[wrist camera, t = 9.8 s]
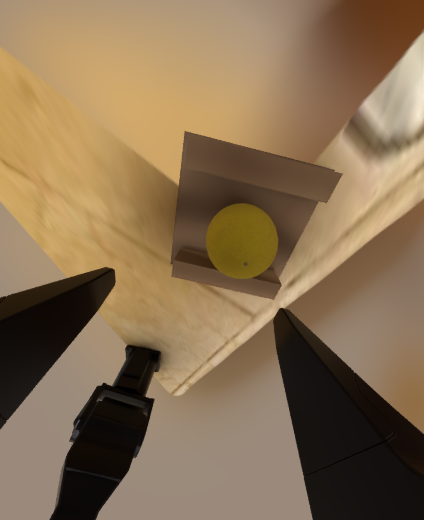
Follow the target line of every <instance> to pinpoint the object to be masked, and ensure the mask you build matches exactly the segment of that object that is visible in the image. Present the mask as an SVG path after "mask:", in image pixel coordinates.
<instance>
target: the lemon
mask: <svg viewBox="0 0 424 520" xmlns="http://www.w3.org/2000/svg"><path fill="white" fill-rule="evenodd" d="M206 248H207V251H208V255H209V258H210V260H211V261H212V263H213V265H214V266H215V267H216V268H217V269H218V270H219V271H220V272H221V273H223V274H225V275H227V276H229V277H232V278H235V279H248V278H252V277H255V276H258V275H259V274H261V273H263V272H264V271H265V270H266V269H267V268H268V267H269V266H270V265H271V263H272V262H273V260H274V258H275V256H276V253H277V249H278V236H277V232H276V227H275V225H274V223H273V222H272V220H271V218H270V217H269V216H268V215H267V214H266V213H265V212H264V211H263V210H262V209H260V208H258V207H256V206H254V205H250V204H246V203H240V204H233V205H230V206H227V207H225V208H224V209H222V210H221V211H219V212H218V213H217V214H216V215H215V217H214V218H213V219H212V221H211V223H210V225H209V227H208V230H207V234H206Z"/></svg>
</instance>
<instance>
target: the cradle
mask: <svg viewBox="0 0 424 520" xmlns="http://www.w3.org/2000/svg"><path fill="white" fill-rule="evenodd" d="M334 171H335V170H333V169H329V168H325V167H321V166H317V165H314V164H310V163H306V162H302V161H298V160H294V159H290V158H287V157H283V156H279V155H275V154H271V153H267V152H263V151H259V150H256V149H251V148H248V147H244V146H240V145H236V144H232V143H229V142H225V141H221V140H217V139H213V138H209V137H205V136H202V135H198V134H193V133H190V132H186V131H185V134H184V143H183V153H182V163H181V172H180V181H179V190H178V200H177V209H176V218H175V228H174V237H173V246H172V256H171V264H173V269H172V277H176V278H180V279H185V280H189V281H194V282H198V283H202V284H207V285H211V286H216V287H220V288H224V289H229V290H233V291H238V292H242V293H247V294H251V295H255V296H260V297H264V298H269V299H273V300H274V298H275V296H276V295H277V293H278V291H279V289H280V287H281V286H282V285H281V282H280V280H279V276H280V274H281V272H282V271H283V269H284V267H285V265H286V263H287V261H288V259H289V257H290V255H291V253H292V251H293V250H294V248H295V246H296V244H297V242H298V240H299V238H300V236H301V234H302V232H303V230H304V228H305V227H306V225H307V223H308V221H309V219H310V217H311V215H312V213H313V211H314V209H315V207H316V205H317V204H318V202H319V201H320V202H324V203H327V202H328V200H329V198H330V196H331V194H332V193H333V191H334V189H335V187H336V185H337V184H338V182H339V180H340V178H341V176H342V174H341V173H337V172H334ZM240 203H246V204H250V205H254V206H256V207H258V208H260V209H262V210H263V211H264V212H265V213H266V214H267V215H268V216H269V217H270V218H271V220H272V222H273V223H274V225H275V227H276V232H277V236H278V249H277V253H276V256H275V258H274V260H273V262H272V263H271V265H270V266H269V267H268V268H267V269H266V270H265V271H264V272H263V273H261V274H259V275H258V276H255V277H252V278H248V279H235V278H232V277H229V276H227V275H225V274H223V273H221V272H220V271H219V270H218V269H217V268H216V267H215V266H214V265H213V263H212V261H211V260H210V258H209V255H208V251H207V248H206V234H207V230H208V227H209V225H210V223H211V221H212V219H213V218H214V217H215V215H216V214H217V213H218V212H219V211H221V210H222V209H224V208H225V207H227V206H230V205H233V204H240Z"/></svg>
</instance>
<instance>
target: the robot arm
mask: <svg viewBox="0 0 424 520" xmlns="http://www.w3.org/2000/svg"><path fill="white" fill-rule="evenodd" d="M115 282H116V280H115V270H114V269H112V268H108V267H104V268H101V269H97V270H94V271H90V272H87V273H83V274H80V275H77V276H73V277H70V278H66V279H63V280H59V281H56V282H52V283H49V284H46V285H42V286H39V287H35V288H32V289H29V290H25V291H22V292H18V293H15V294H11V295H8V296H7V297H6V296H5V297H1V298H0V429H1V428H2V427H3V425H4V424H5V423H6V420H8V419H9V418H10V417H11V415H12V414H13V413H14V412H15V411H16V409H17V408H18V407H19V406H20V405H21V403H22V402H23V401H24V400H25V398H26V397H27V396H28V395H29V394H30V392H31V391H32V390H33V388H35V386H36V385H37V384H38V382H39V381H40V380H41V379H42V378H43V376H44V375H45V374H46V373H47V372H48V371H49V369H50V368H51V367H52V365H54V363H55V362H56V361H57V360H58V358H59V357H60V356H61V355H62V354H63V352H64V351H65V350H66V349H67V348H68V346H69V345H70V344H71V343H72V341H73V340H74V339H75V338H76V337H77V335H78V334H79V333H80V332H81V330H82V329H83V328H84V327H85V326H86V324H87V323H88V322H89V321H90V320H91V318H92V317H93V316H94V315H95V313H96V312H97V311H98V310H99V308H100V307H101V305H102V304H103V302H104V301H105V299H106V298H107V296H108V295H109V293H110V292H111V290H112V289H113V287H114V285H115ZM273 324H274V333H275V342H276V350H277V355H278V360H279V365H280V369H281V374H282V378H283V383H284V388H285V392H286V397H287V401H288V406H289V411H290V416H291V419H292V425H293V429H294V434H295V439H296V443H297V448H298V452H299V457H300V462H301V467H302V471H303V475H304V481H305V486H306V490H307V495H308V500H309V504H310V509H311V513H312V518H313V520H424V434H423V433H422V432H421V431H420V430H418V429H417V428H416V427H415V426H414V425H413V424H411V423H410V422H409V421H408V420H407V419H406V418H405V417H404V416H402V415H401V414H400V413H399V412H398V411H397V410H395V409H394V408H393V407H392V406H391V405H390V404H389V403H388V402H387V401H385V400H384V399H383V398H382V397H381V396H380V395H379V394H378V393H377V392H375V391H374V390H373V389H372V388H371V387H370V386H369V385H368V384H367V383H366V382H365V381H364V380H362V378H360V377H359V376H358V375H357V374H356V373H354V371H353V370H352V369H351V368H350V367H349V366H348V365H347V364H346V363H345V362H343V361H342V360H341V359H340V358H339V357H338V356H337V355H336V354H335V353H334V352H333V351H332V350H331V349H330V348H329V347H327V345H325V344H324V343H323V342H322V341H321V340H320V339H319V338H318V337H317V336H316V335H315V334H314V333H313V332H312V331H311V330H310V329H308V327H306V326H305V325H304V324H303V323H302V322H301V321H300V320H299V319H298V318H297V317H296V316H295V315H294V314H293V313H292V312H291V311H290V310H288V309H285V308H280V309H279V310H278V312H277V314H276V315H275V317H274V320H273ZM125 351H126V361H125V363H124V365H123V367H122V368H121V370H120V372H119V374H118V376H117V378H116V379H115V381H114V383H113V385H112V386H110V385H107V384H106V383H103V384H102V386H97V387H96V389H95V391H94V392H93V394H92V396H91V397H90V399H89V400H88V402H87V403H86V405H85V406H84V408H83V409H82V410H81V412H80V413H79V415H78V416H77V418H76V419H75V421H74V423H73V425H74V430H73V432H72V433H73V434H72V436H71V438H70V440H69V441H70V442H73V445H72V446H71V448H70V450H69V452H68V454H67V456H66V459H65V461H64V464H63V467H62V470H61V475H60V481H59V487H58V493H57V498H56V505H55V510H54V513H53V514H52V516H51V518H50V520H96V518H97V515H98V513H99V511H100V509H101V508H102V506H103V505H104V504H105V503H106V501H107V500H108V498H109V497H110V496H111V494H112V493H113V491H114V490H115V489H116V488H117V486H118V485H119V483H120V482H121V481H122V479H123V478H124V477H125V475H126V474H127V472H128V471H129V468H130V465H131V462H132V459H133V458H136V457H137V455H138V453H139V450H140V448H141V445H142V443H143V440H144V437H145V434H146V430H147V427H148V422H149V419H150V415H151V411H152V407H153V403H154V399H153V398H147V397H145V396H146V393H147V390H148V388H149V385H150V382H151V379H152V377H153V374H154V372H158V371H159V366H160V356H161V353H160V352H157V351H152V350H147V349H142V348H138V347H133V346H126V348H125ZM100 400H102V401H100Z"/></svg>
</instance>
